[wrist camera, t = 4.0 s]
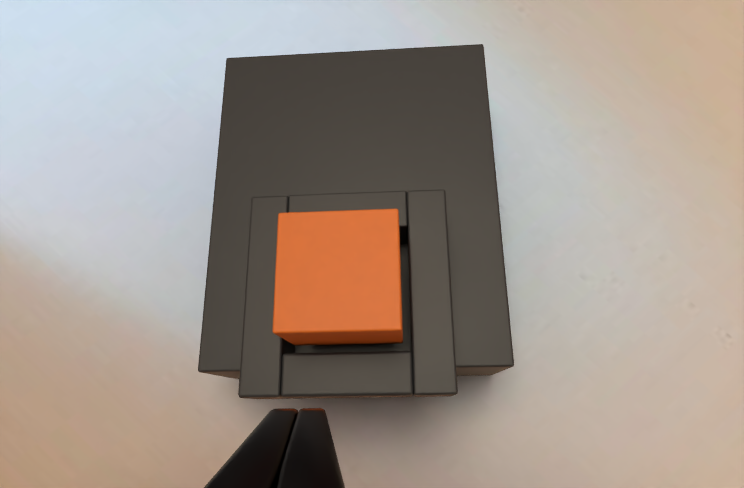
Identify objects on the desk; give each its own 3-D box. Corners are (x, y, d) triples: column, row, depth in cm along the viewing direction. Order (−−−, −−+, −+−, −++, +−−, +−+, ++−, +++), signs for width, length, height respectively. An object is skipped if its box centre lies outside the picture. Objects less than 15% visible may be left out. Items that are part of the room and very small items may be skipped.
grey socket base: (494, 398, 19) (531, 393, 14) (236, 401, 20) (169, 398, 14) (470, 105, 23) (490, 8, 18) (256, 116, 24) (208, 24, 18)
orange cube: (403, 343, 15) (402, 330, 12) (293, 345, 15) (271, 333, 13) (399, 238, 16) (398, 207, 13) (297, 242, 16) (277, 211, 14)
